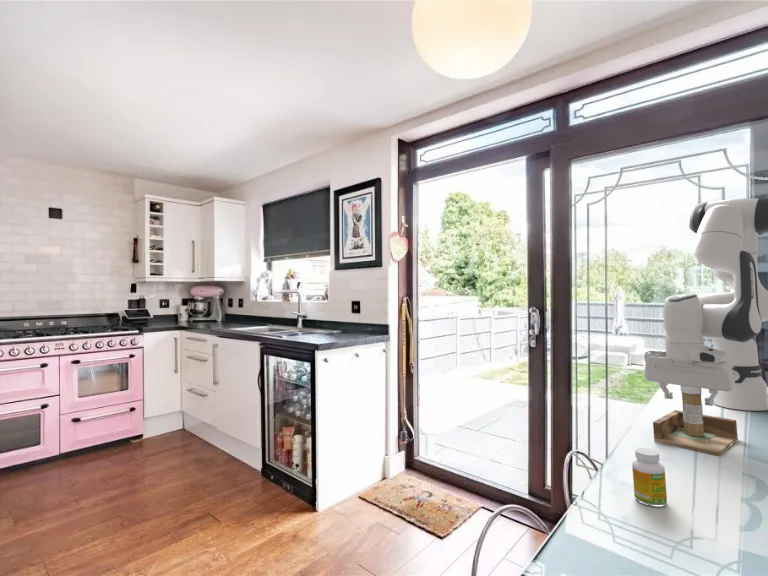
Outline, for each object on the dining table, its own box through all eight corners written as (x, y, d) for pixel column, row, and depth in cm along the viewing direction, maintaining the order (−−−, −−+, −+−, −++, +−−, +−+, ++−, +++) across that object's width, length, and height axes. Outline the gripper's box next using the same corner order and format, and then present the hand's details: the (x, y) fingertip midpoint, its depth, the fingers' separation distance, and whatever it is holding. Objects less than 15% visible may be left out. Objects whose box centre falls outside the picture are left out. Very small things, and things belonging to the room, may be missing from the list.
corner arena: (676, 427, 118) (675, 410, 118) (737, 439, 107) (736, 420, 107) (654, 441, 109) (652, 422, 109) (719, 455, 98) (717, 434, 98)
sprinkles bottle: (688, 430, 113) (684, 382, 114) (707, 434, 109) (704, 385, 110) (681, 433, 111) (677, 385, 111) (700, 438, 107) (696, 387, 107)
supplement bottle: (655, 510, 75) (651, 458, 75) (628, 498, 80) (624, 449, 80) (673, 503, 77) (669, 453, 78) (645, 492, 82) (642, 444, 82)
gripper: (639, 350, 118) (642, 397, 118) (727, 357, 101) (731, 411, 101) (648, 347, 122) (651, 393, 121) (735, 354, 105) (738, 406, 105)
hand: (688, 401), depth 111 cm, fingers open, 8 cm apart
